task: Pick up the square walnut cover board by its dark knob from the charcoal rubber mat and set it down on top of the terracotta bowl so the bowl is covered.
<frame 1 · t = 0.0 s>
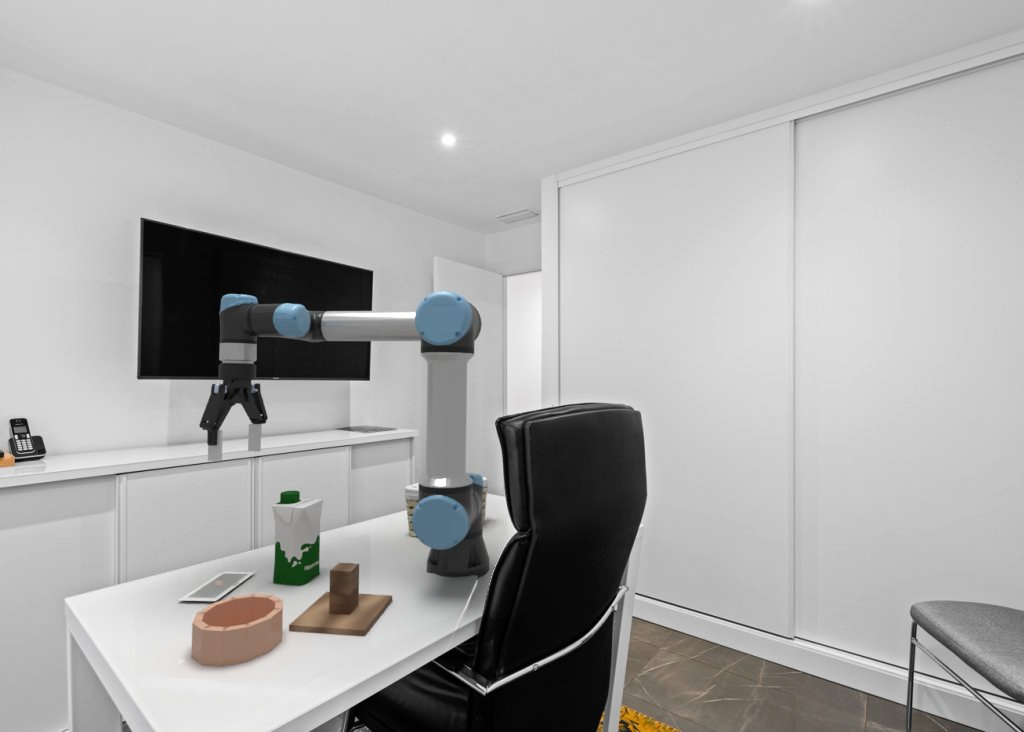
hand: (235, 455, 114), 28 cm above the table, fingers open, 13 cm apart
mat: (343, 619, 95), on the table
milk carton: (296, 583, 112), on the table
bowl: (239, 649, 85), on the table
touchpad: (219, 591, 109), on the table
cover board: (343, 614, 95), point 1 cm above the table, touching mat
storage basket: (447, 530, 152), on the table
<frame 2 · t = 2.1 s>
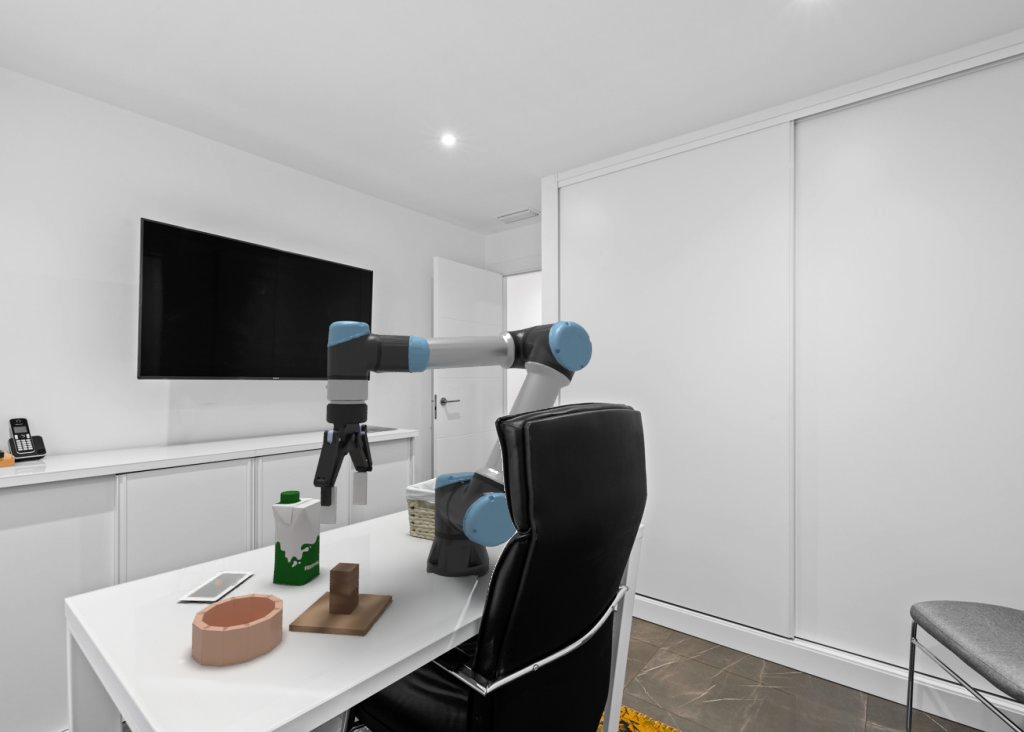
hand: (345, 513, 96), 20 cm above the table, fingers open, 13 cm apart
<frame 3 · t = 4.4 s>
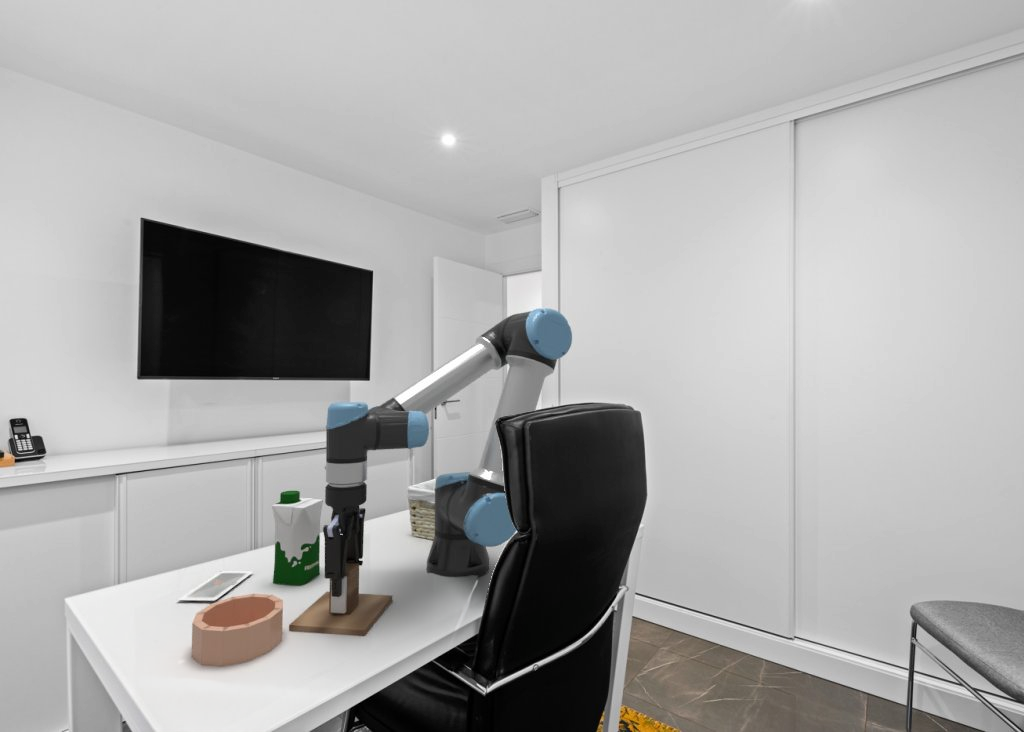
hand: (344, 605, 95), 3 cm above the table, fingers closed on cover board, 4 cm apart
cover board: (344, 614, 95), point 1 cm above the table, touching gripper, mat
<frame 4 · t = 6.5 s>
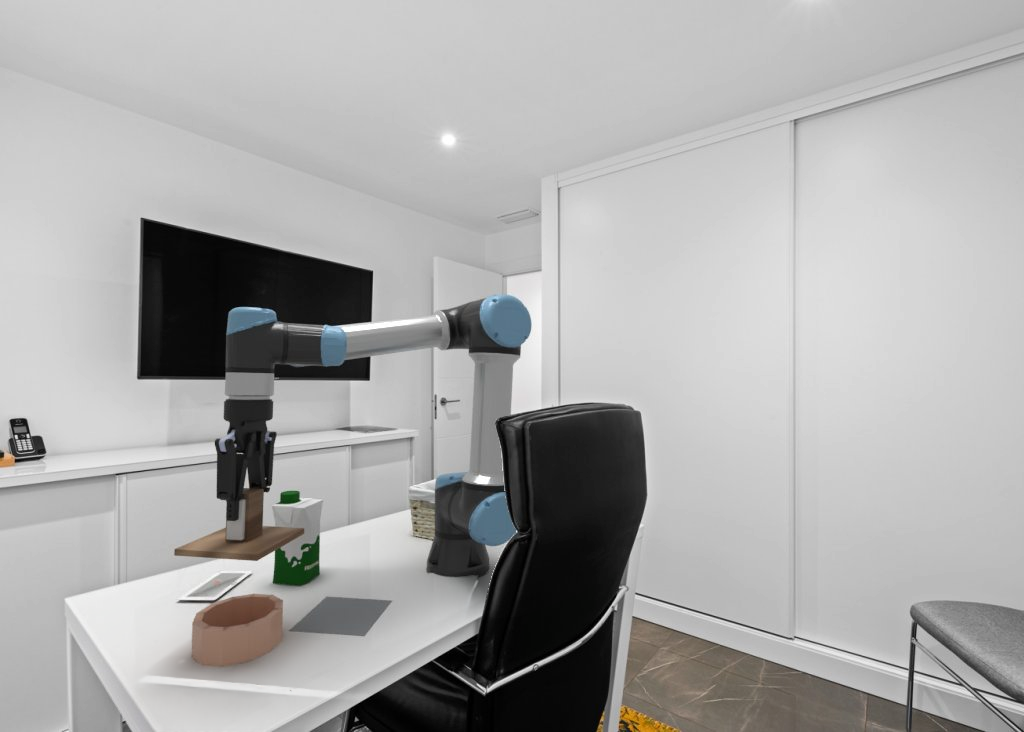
hand: (244, 534, 85), 19 cm above the table, fingers closed on cover board, 4 cm apart
cover board: (243, 543, 85), point 18 cm above the table, touching gripper
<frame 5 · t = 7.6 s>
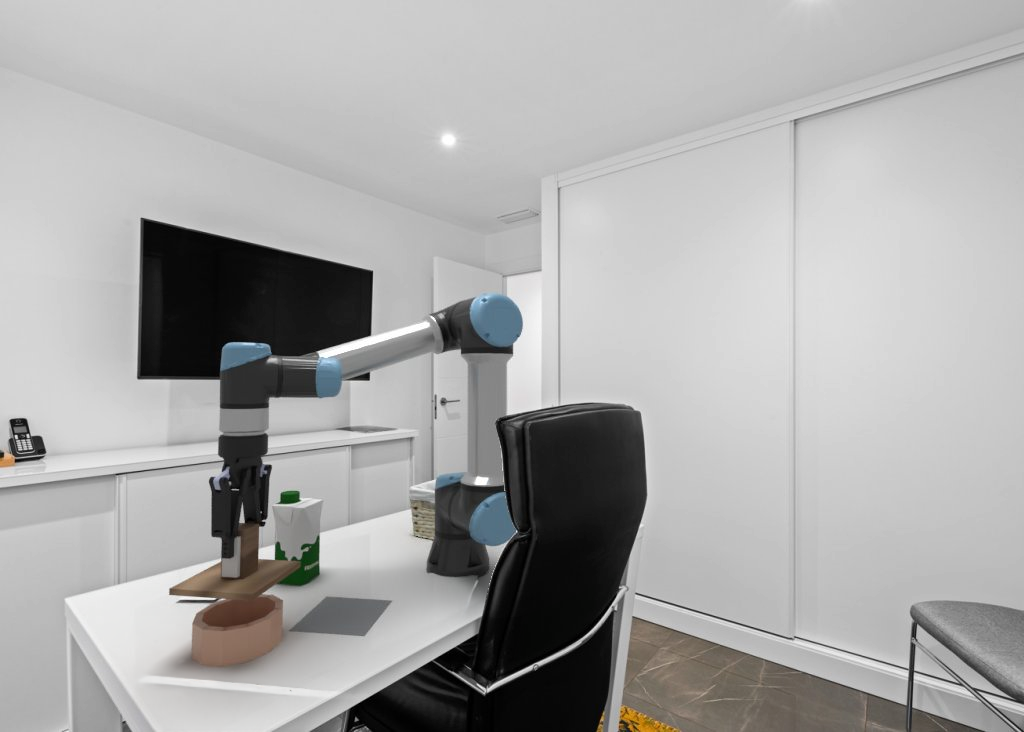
hand: (240, 570, 85), 13 cm above the table, fingers closed on cover board, 4 cm apart
cover board: (239, 579, 85), point 12 cm above the table, touching gripper
when the fingers open (10 cm above the table, at t = 8.5 s): cover board drops 2 cm, resting on bowl.
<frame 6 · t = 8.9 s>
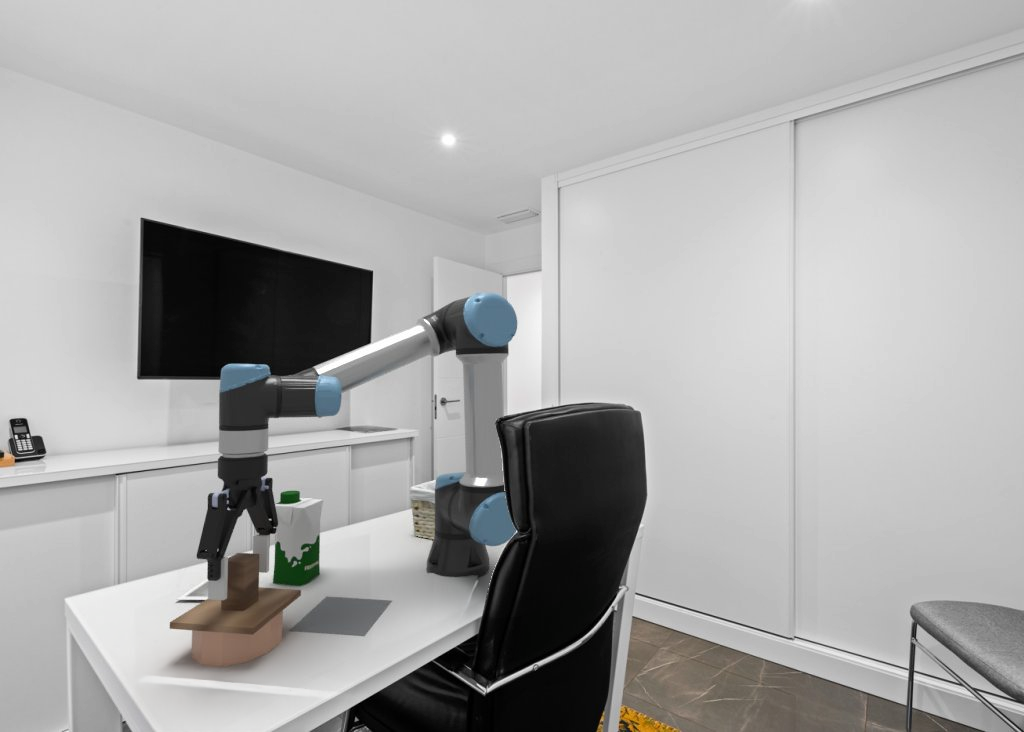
hand: (240, 584, 85), 11 cm above the table, fingers open, 10 cm apart
cover board: (240, 610, 85), point 6 cm above the table, touching bowl
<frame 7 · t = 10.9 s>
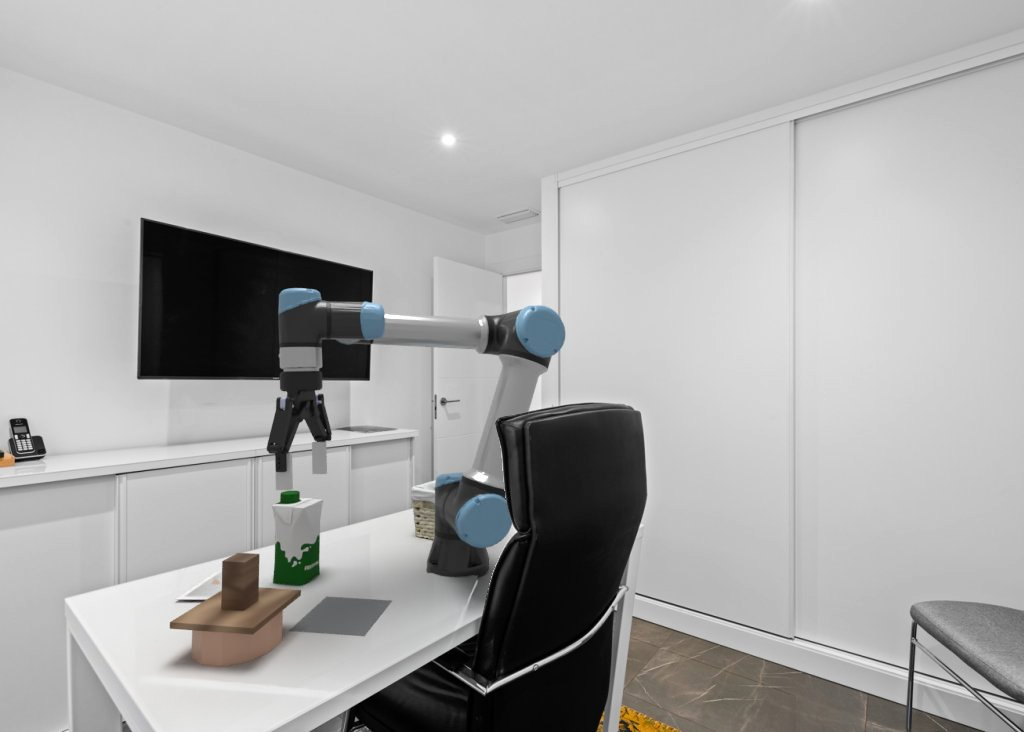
hand: (303, 481, 96), 26 cm above the table, fingers open, 13 cm apart
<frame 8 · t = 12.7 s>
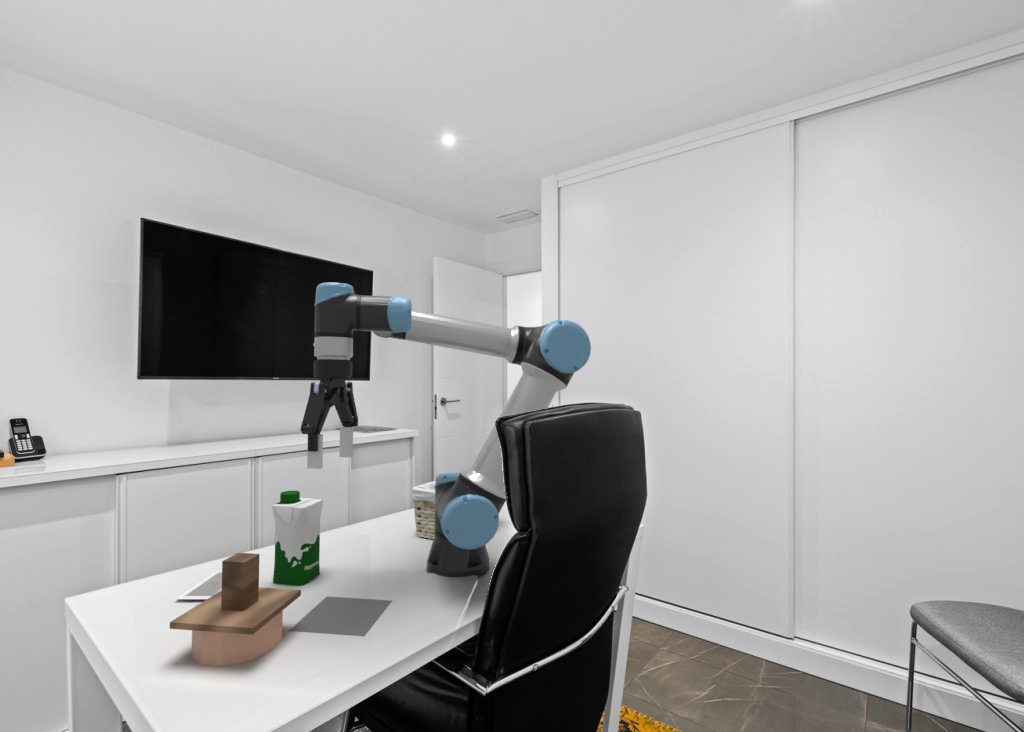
hand: (331, 462, 102), 29 cm above the table, fingers open, 13 cm apart
at the end: cover board 0.0 cm off-centre on the bowl, point 6.4 cm above the bowl's base; cover board tilted 0°; the gripper is holding nothing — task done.
